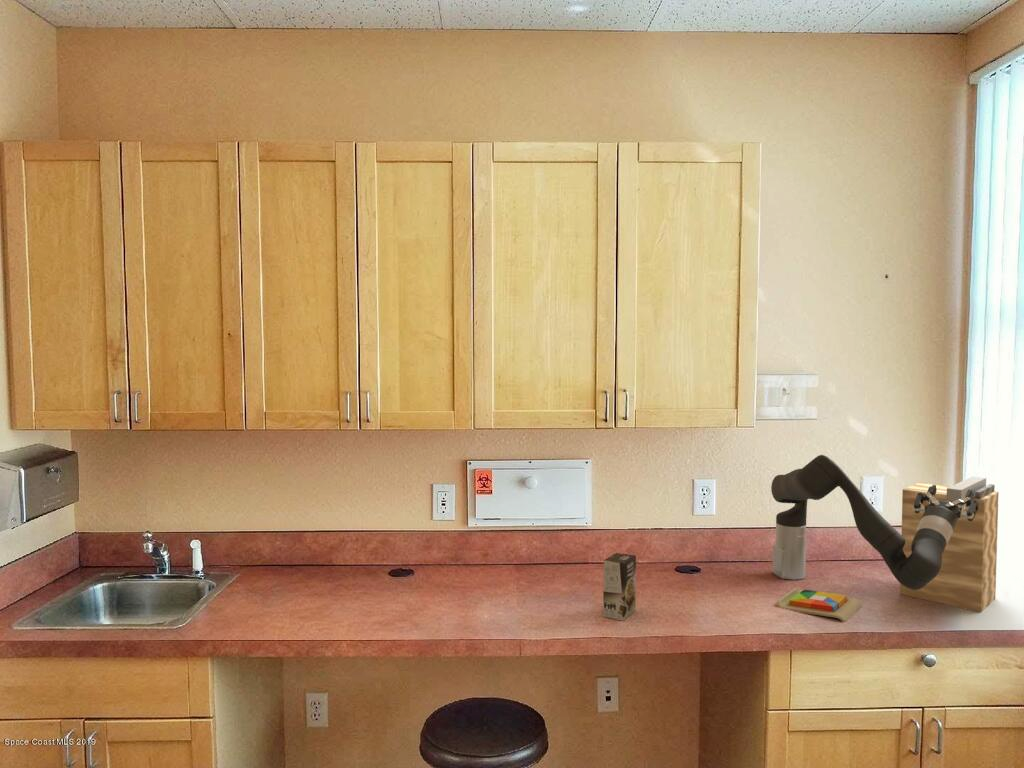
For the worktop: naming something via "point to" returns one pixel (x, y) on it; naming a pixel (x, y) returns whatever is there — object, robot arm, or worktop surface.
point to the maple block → (958, 551)
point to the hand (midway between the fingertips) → (952, 489)
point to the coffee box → (619, 586)
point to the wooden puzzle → (820, 603)
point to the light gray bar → (965, 488)
